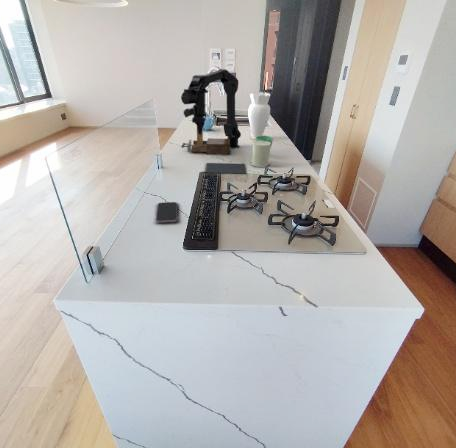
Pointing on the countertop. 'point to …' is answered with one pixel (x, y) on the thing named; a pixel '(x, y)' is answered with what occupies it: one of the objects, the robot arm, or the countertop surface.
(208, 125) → the teapot
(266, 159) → the can
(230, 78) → the robot arm
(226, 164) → the mat
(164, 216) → the smartphone
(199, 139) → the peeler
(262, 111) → the vase
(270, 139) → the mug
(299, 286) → the countertop surface
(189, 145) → the drawer
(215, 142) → the cabinet
